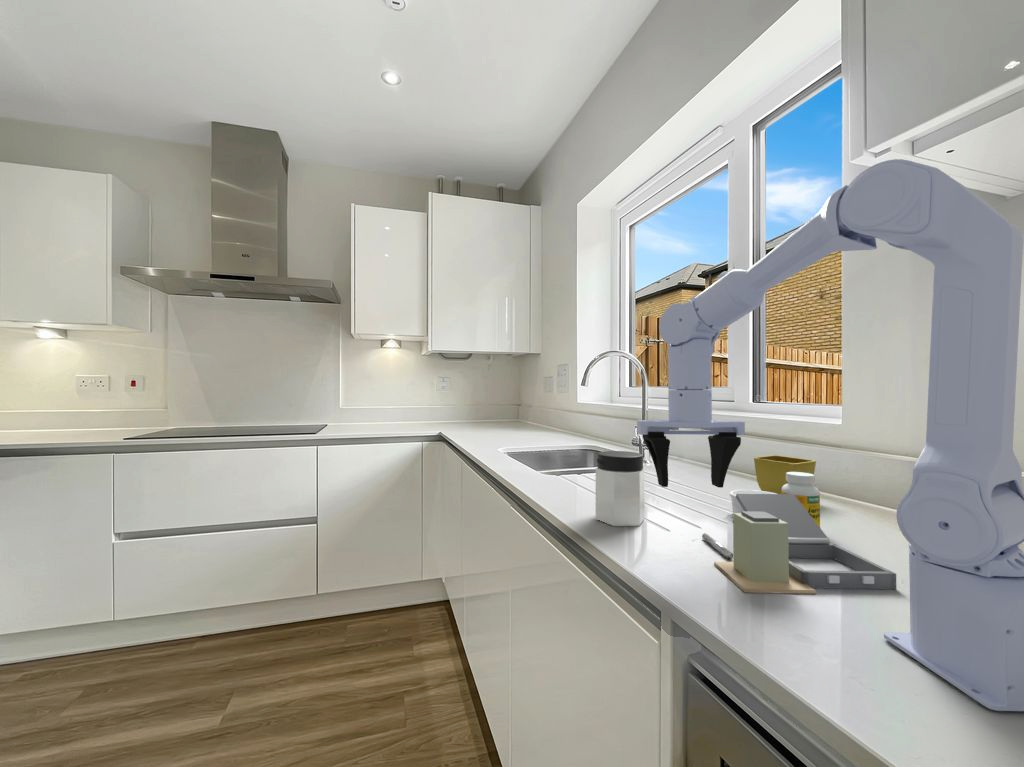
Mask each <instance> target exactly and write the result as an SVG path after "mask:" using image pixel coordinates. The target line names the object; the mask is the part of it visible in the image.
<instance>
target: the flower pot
mask: <svg viewBox="0 0 1024 767" xmlns="http://www.w3.org/2000/svg"><path fill="white" fill-rule="evenodd" d="M753 460H754V461H753V462H754V469H755V470H754V471H755V477H756V481H757V485H758V486H759V488H760V491H766V492H771V493H776V494H782V487H783V486H784V485H785V484H788V482H787V481H786V473H787V472H803V473H810V474H813V475H814V476H815V471H816V464H817V461H816V460H815V459H807V458H806V459H805V458H801V457H792V456H785V455H775V454H772V455H764V456H756V457H754V458H753Z"/></svg>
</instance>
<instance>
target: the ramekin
mask: <svg viewBox="0 0 1024 767" xmlns="http://www.w3.org/2000/svg"><path fill="white" fill-rule="evenodd" d="M736 494H776V493H771V492H766V491H761V490H758V489H757V490H756V489H735V490H731V491H730V492H729V496H730V498H731V507H732V508H731V509H732V514H733V513H741V511H744V510H743V508H742V507H741V505H740V503H739V502H738V500H737V498H736Z"/></svg>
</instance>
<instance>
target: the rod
mask: <svg viewBox="0 0 1024 767" xmlns="http://www.w3.org/2000/svg"><path fill="white" fill-rule="evenodd" d="M701 538H702V539H703V540H704V541H705V542H707V543H708V545H710V546H711V547H713V548H714V549H715V550H716V551H717V552H719V553H720V554H721V555H722V556H723V557H725V558H726V559H728V560H733V559H734V552H732V551H730V550H729V549H728V548H726V547H725V546H723V545H722V544H721V543H720V542H719V541H717V539H714V538H713V537H712V536H711V535H709V534H708V533H705V532H704V533H702V535H701Z"/></svg>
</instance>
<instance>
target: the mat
mask: <svg viewBox="0 0 1024 767" xmlns="http://www.w3.org/2000/svg"><path fill="white" fill-rule="evenodd" d="M713 564H714V565H713V566H715V567H716V568H717V569H718V570H720V572H722V574H724V575H725V576H726V577H727V578H728V579H729V580H731V581H732V582H733V583H734V584H735V585H736V586H737V587H738V588H739V589H740V590H742V591H743V592H744V593H748V594H749V593H752V594H753V593H754V594H760V593H761V594H807V595H808V594H811V595H812V594H813V595H815V594H816V591H817V590H816V588H812V587H810V586H809V585H807V584H802V583H801V582H799V581H798V580H796V579H795V578H793V577H792V576H791V575H789V582H752V581H750V580H749V579H748V578H747V577H746V576H744V575H743V574H742V573H741V572H739V571H738V570H737V569H736V568H734V561H714V562H713Z"/></svg>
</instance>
